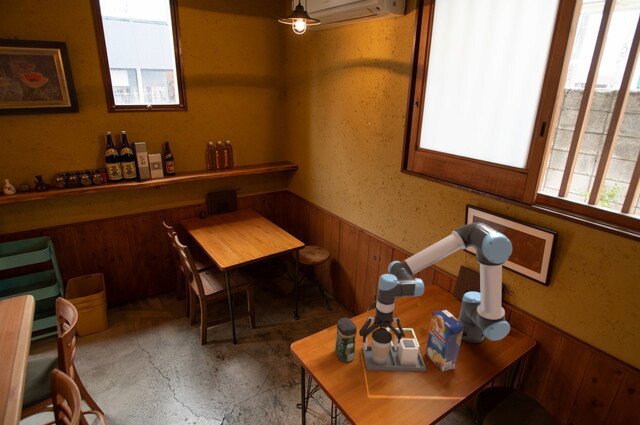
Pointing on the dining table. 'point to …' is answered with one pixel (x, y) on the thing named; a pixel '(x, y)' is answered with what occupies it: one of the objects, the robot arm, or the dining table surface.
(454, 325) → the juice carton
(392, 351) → the divided tray
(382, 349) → the coffee cup
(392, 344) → the square frame
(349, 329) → the coffee jar
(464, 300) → the robot arm
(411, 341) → the white box
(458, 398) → the dining table surface
